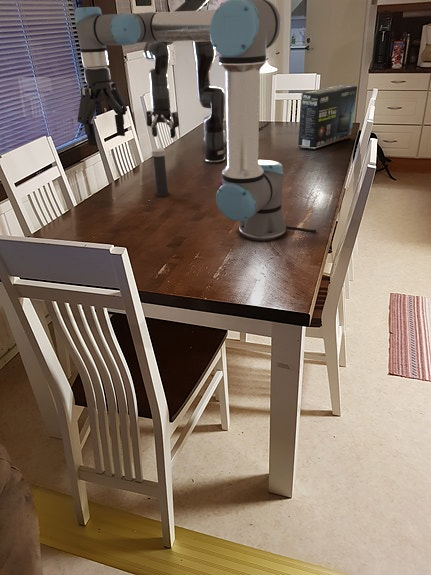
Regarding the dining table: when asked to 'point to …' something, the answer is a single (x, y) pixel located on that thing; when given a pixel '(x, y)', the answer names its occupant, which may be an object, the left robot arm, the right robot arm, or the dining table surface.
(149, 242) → the dining table surface
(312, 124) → the router box
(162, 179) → the dark grey column
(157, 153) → the lid
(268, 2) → the right robot arm
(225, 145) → the fossil
